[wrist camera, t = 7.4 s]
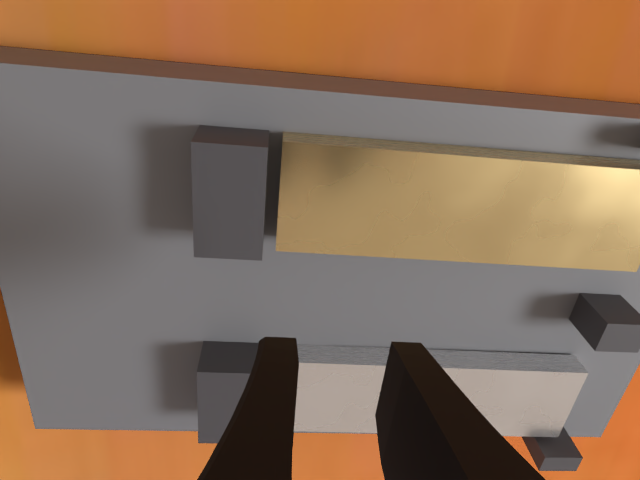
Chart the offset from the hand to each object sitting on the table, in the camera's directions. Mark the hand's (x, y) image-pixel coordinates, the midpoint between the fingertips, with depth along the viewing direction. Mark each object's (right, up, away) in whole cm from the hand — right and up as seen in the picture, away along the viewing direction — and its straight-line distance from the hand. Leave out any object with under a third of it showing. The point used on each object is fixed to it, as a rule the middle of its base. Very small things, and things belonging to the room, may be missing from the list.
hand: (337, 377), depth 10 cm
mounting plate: (+1, +2, +10) cm, 10 cm away
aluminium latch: (+4, -3, +10) cm, 11 cm away
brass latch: (+4, +4, +6) cm, 8 cm away
